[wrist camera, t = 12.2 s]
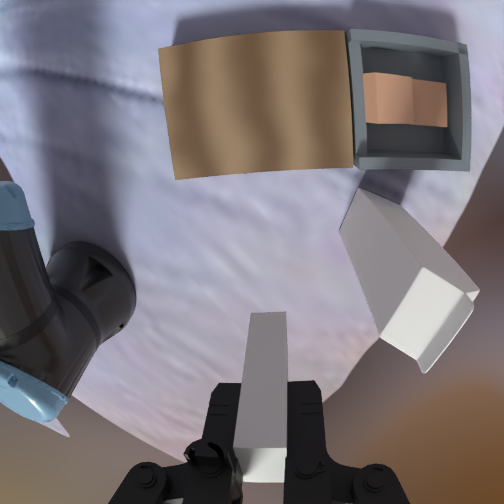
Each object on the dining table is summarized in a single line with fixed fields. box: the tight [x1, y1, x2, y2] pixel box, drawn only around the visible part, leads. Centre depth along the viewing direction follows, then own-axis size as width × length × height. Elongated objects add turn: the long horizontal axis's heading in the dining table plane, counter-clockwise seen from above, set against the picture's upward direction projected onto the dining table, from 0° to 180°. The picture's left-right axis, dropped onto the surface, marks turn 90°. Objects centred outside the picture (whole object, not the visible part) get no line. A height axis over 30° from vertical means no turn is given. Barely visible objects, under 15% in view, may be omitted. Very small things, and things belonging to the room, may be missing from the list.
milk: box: [339, 188, 480, 373], centre depth 27 cm, size 6×6×22 cm
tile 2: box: [363, 72, 414, 124], centre depth 27 cm, size 5×5×2 cm
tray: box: [344, 29, 471, 172], centre depth 28 cm, size 13×14×5 cm
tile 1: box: [410, 79, 447, 127], centre depth 28 cm, size 5×5×2 cm
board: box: [158, 30, 353, 180], centre depth 30 cm, size 18×14×4 cm
